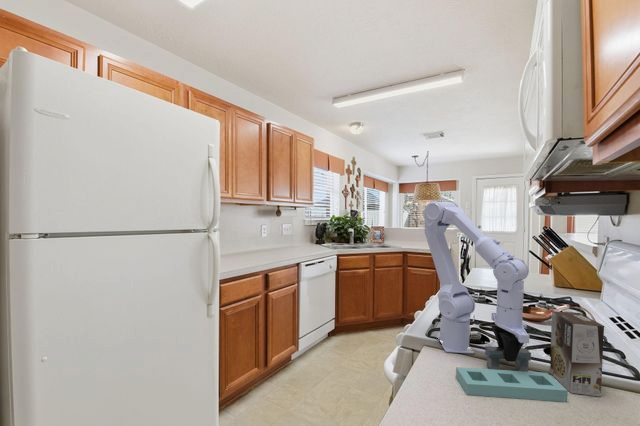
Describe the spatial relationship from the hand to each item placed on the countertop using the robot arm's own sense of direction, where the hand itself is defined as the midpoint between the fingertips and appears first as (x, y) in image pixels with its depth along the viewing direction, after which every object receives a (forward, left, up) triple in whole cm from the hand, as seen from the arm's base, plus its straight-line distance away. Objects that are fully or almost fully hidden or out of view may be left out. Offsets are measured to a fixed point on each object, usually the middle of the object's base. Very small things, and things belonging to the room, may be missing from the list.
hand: (507, 358), depth 79 cm
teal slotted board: (+9, -4, -3) cm, 10 cm away
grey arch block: (0, 0, -3) cm, 3 cm away
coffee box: (+5, +13, -3) cm, 14 cm away
